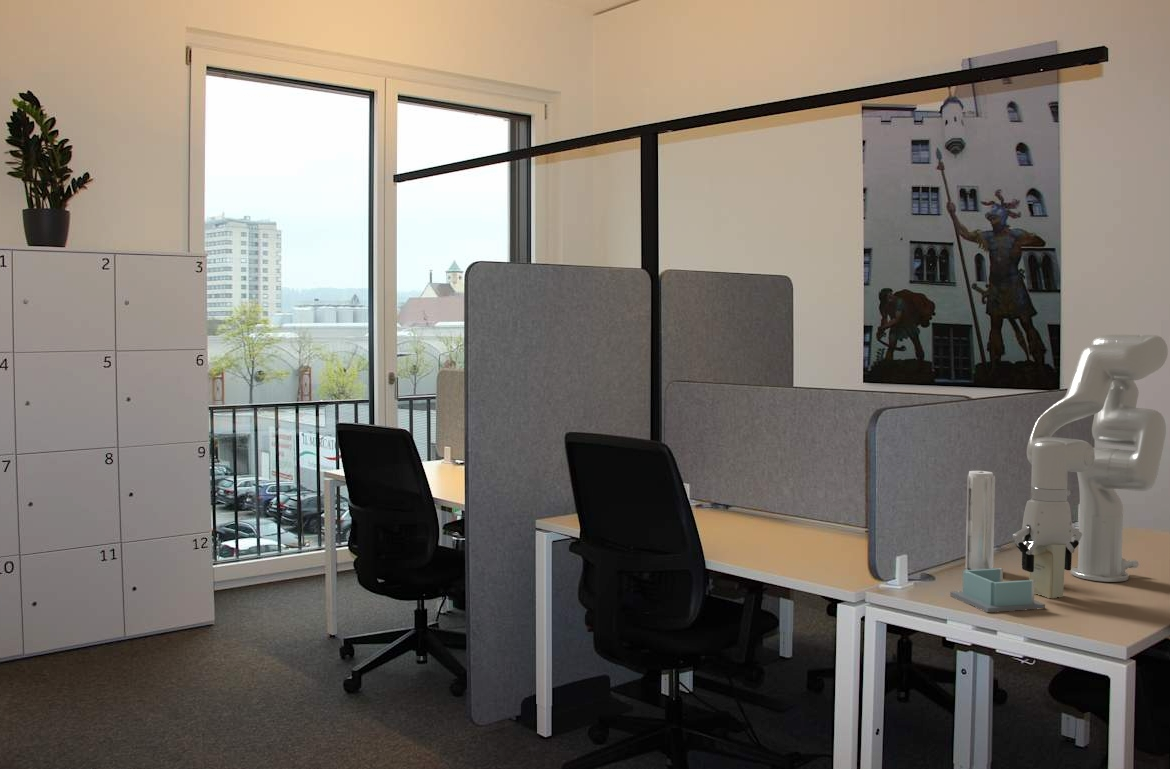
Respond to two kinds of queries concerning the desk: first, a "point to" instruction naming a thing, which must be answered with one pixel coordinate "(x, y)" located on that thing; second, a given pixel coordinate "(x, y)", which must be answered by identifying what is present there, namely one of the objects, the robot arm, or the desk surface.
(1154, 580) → the desk surface
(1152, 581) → the desk surface
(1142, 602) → the desk surface
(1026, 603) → the holder
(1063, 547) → the skincare box
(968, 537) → the tall white box
